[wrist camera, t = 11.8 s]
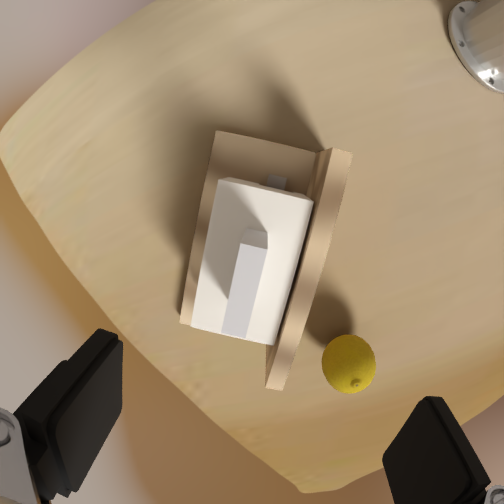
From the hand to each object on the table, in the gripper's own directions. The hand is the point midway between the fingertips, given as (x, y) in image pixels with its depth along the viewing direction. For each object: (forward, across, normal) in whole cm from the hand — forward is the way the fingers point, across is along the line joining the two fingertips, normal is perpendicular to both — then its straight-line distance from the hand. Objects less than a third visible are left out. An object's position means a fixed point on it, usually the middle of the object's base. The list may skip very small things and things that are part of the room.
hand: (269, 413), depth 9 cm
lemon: (+24, -11, +10) cm, 29 cm away
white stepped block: (+23, +2, +1) cm, 23 cm away
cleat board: (+24, +2, +1) cm, 24 cm away
